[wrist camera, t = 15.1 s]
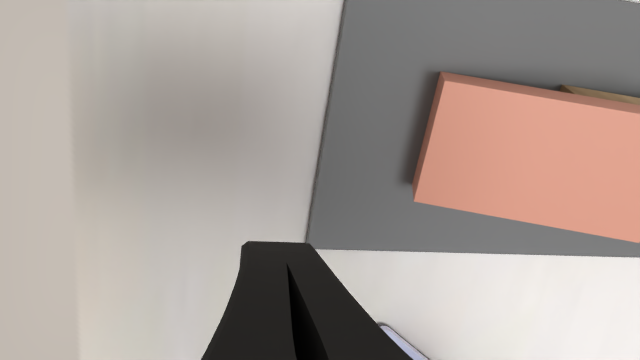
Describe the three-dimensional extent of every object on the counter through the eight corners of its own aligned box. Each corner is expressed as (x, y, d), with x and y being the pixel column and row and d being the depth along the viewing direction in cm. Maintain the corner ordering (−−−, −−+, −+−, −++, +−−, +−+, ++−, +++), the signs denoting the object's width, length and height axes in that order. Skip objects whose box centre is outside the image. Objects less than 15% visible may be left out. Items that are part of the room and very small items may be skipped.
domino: (413, 201, 20) (639, 243, 19) (445, 80, 18) (699, 124, 17) (412, 184, 21) (621, 222, 21) (440, 71, 19) (674, 111, 19)
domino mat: (305, 243, 22) (307, 248, 22) (351, -44, 17) (354, -43, 17) (778, 257, 28) (786, 261, 28) (919, 48, 23) (930, 50, 23)
